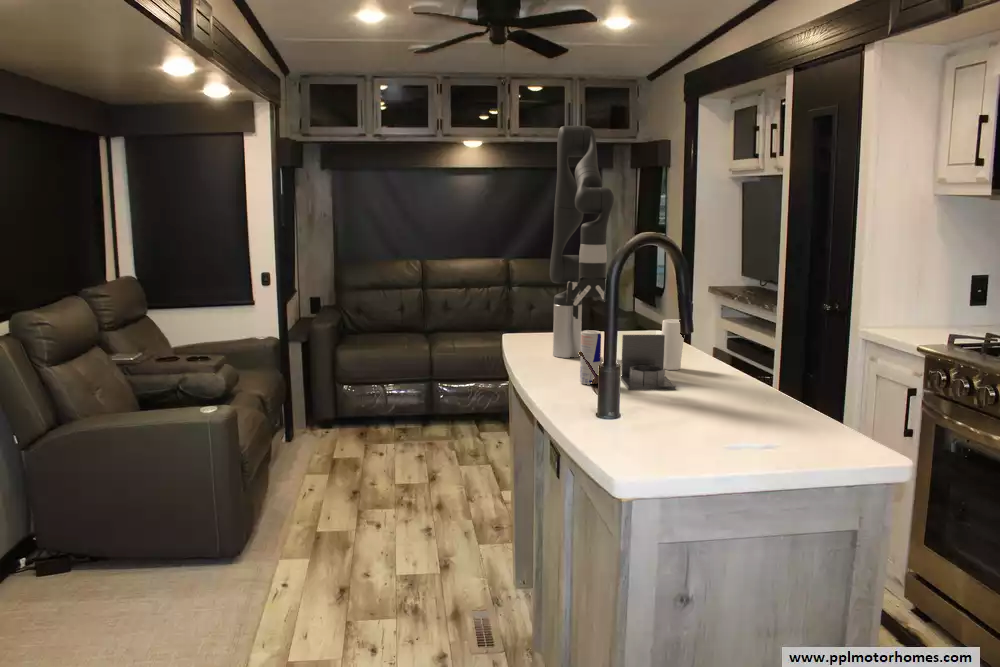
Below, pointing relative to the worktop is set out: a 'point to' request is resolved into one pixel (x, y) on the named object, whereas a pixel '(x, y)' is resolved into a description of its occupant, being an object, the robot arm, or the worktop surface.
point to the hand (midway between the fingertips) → (591, 318)
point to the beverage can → (590, 354)
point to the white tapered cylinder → (672, 344)
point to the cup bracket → (644, 363)
